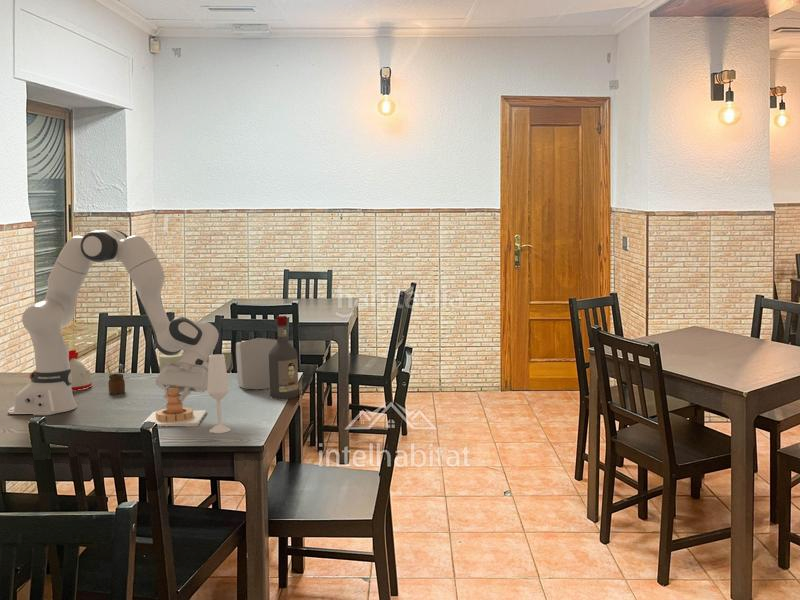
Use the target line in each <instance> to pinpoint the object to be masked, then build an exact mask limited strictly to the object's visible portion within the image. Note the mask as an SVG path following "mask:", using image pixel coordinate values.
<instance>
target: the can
mask: <svg viewBox="0 0 800 600" xmlns="http://www.w3.org/2000/svg"><path fill="white" fill-rule="evenodd" d="M182 354H183V353H180V352H179V353H178V354H176V355H172V356H169V355H165V354H163V353H161V354H160V355H159V356H158V359H159V373H160V372H161V371H162V370H163V368H164V367H165V366H167V365H169V364H177V363H178V361H179V359H180V357H181V355H182Z"/></svg>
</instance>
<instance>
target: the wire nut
mask: <svg viewBox="0 0 800 600" xmlns="http://www.w3.org/2000/svg"><path fill="white" fill-rule="evenodd" d="M168 391H169V396H167V400H166V402H167V403H166V404H165V405H166V408H167V413H168V414H178V413H182V412H183V407H184V406H183V405H184V404H183V401H178V399H177V397H178V395H179V394H180V390H179V388H177V387H174V388H169V389H168Z"/></svg>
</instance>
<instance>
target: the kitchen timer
mask: <svg viewBox="0 0 800 600" xmlns="http://www.w3.org/2000/svg"><path fill="white" fill-rule="evenodd" d="M68 353H69V368H70V369H71V375H72V383H71V388H72V390H78V389H83V388H87V387H89V386H91V385H92V384H93V383H92V378H91V370H89V369H87V367H86V366H85V364H83V362H82V361H80V360H79V359H78V355H79V352H78V351H77V350H76V349H71V350H68ZM92 386H93V385H92Z"/></svg>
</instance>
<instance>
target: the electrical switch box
mask: <svg viewBox="0 0 800 600" xmlns="http://www.w3.org/2000/svg"><path fill="white" fill-rule="evenodd" d="M277 340H278V339H273V338H265V337H264V338H263V337H257V338H252V339H248V340H244V341H237V342H236V343H235V357H236V371H237V383H238V387H239V388H242V389H247V390H249V389H250V390H258V389H263V390H267V389H270V377H269V353H270V351H271V350H272V348H273V347H274V346H275V345H276V343H277Z"/></svg>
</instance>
